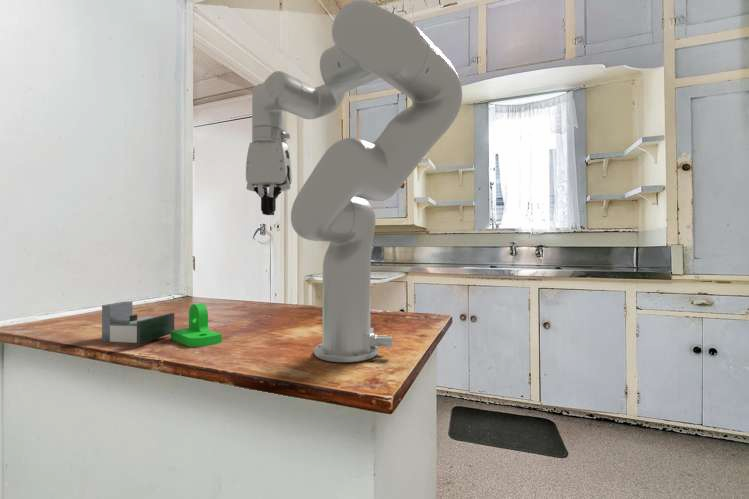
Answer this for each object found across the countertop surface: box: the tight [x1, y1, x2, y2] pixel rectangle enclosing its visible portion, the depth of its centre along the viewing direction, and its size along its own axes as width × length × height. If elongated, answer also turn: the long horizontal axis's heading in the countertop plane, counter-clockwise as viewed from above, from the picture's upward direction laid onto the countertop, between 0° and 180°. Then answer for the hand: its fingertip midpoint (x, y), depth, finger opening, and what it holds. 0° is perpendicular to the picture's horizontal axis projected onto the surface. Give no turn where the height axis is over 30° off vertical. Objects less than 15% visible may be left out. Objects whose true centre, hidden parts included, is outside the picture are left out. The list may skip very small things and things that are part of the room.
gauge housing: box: [101, 301, 137, 344], centre depth 79 cm, size 9×6×8 cm, turn 82°
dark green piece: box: [130, 312, 175, 345], centre depth 77 cm, size 7×10×5 cm, turn 172°
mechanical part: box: [170, 302, 223, 348], centre depth 78 cm, size 12×6×8 cm, turn 51°
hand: (268, 214), depth 83 cm, fingers closed
